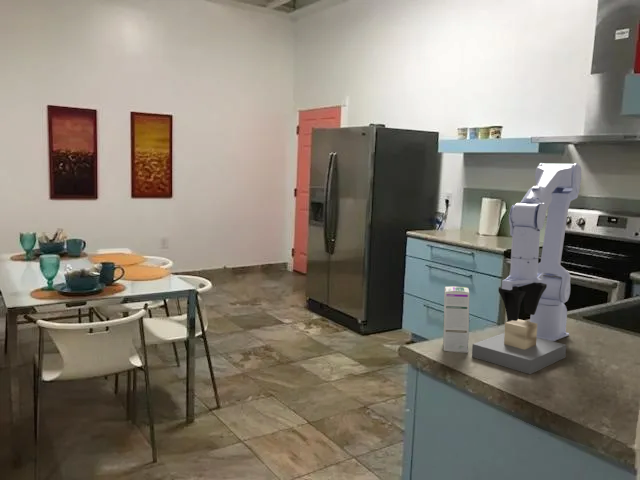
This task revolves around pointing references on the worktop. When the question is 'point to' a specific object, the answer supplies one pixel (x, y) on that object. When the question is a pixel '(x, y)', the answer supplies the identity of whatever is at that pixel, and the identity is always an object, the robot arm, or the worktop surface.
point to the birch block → (520, 334)
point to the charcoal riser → (519, 354)
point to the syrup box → (456, 319)
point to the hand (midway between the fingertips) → (521, 316)
